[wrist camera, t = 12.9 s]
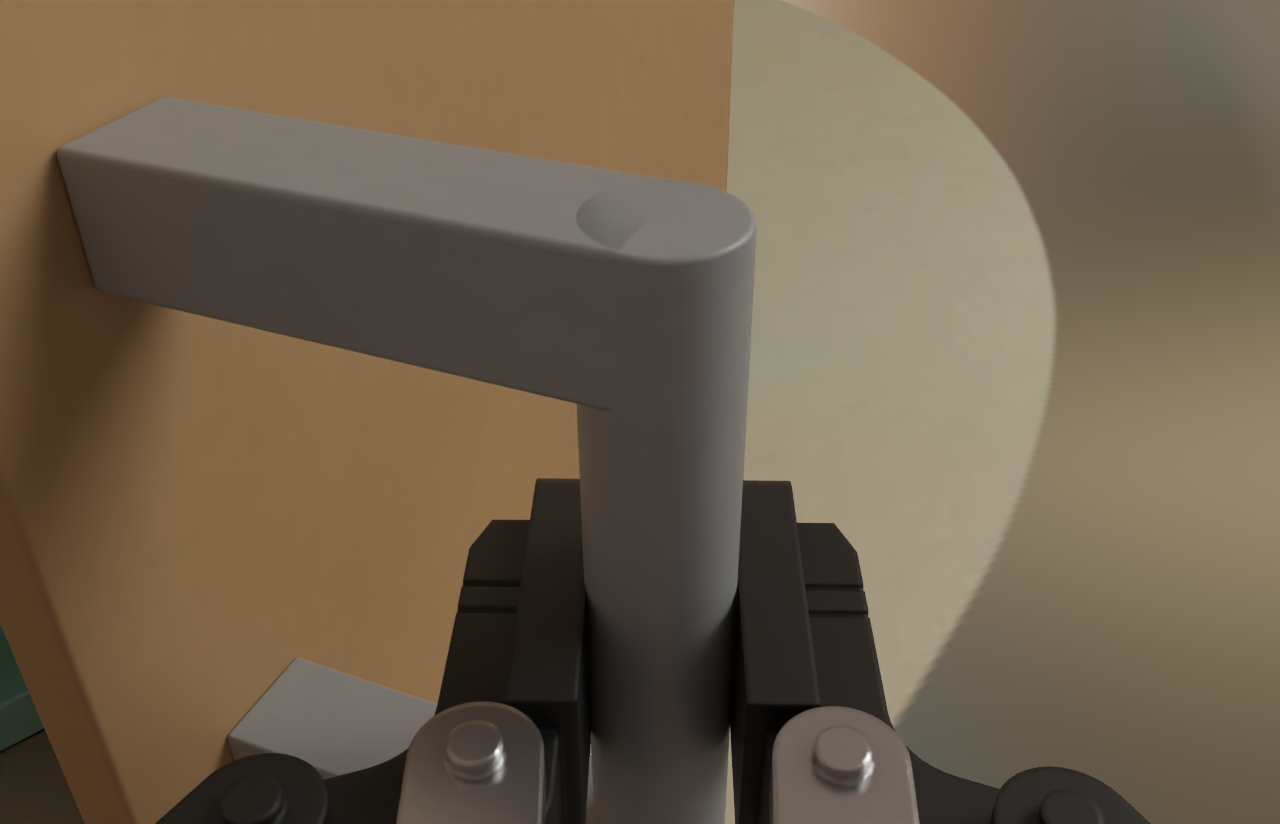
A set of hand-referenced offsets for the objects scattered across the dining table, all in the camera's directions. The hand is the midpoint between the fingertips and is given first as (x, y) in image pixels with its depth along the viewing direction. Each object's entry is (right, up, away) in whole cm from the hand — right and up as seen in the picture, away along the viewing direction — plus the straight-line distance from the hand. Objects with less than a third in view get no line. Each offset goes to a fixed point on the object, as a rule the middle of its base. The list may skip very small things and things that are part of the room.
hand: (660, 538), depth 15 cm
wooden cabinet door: (0, -5, +12) cm, 13 cm away
